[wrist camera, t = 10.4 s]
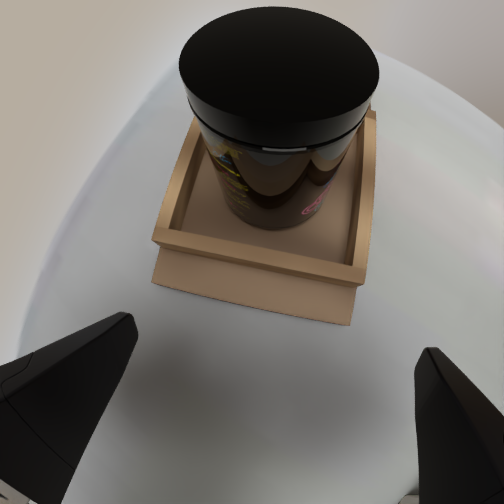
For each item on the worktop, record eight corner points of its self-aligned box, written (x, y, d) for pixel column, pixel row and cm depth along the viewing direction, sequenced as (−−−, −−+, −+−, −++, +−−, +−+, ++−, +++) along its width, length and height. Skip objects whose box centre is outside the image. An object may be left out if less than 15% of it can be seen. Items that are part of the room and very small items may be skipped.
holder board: (344, 325, 17) (360, 326, 14) (158, 284, 18) (137, 277, 15) (366, 84, 21) (375, 60, 18) (232, 62, 22) (229, 36, 19)
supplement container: (290, 255, 17) (324, 167, 7) (199, 196, 18) (137, 77, 8) (345, 171, 18) (402, 50, 8) (260, 123, 19) (253, -6, 9)
